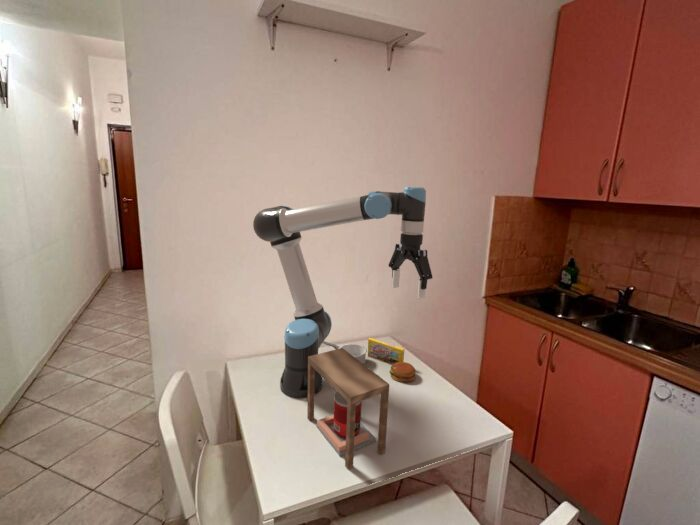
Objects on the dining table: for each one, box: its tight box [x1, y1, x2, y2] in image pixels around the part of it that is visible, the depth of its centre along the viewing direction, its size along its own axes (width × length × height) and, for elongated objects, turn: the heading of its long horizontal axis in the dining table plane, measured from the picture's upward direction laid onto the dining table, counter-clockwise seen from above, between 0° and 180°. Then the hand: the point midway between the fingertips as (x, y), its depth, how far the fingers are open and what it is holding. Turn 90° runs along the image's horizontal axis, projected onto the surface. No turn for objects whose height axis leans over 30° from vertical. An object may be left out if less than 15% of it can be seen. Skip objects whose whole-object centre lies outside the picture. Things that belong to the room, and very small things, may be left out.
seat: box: [315, 414, 377, 457], centre depth 107 cm, size 12×14×2 cm
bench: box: [306, 348, 390, 470], centre depth 105 cm, size 12×24×21 cm, turn 32°
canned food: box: [333, 391, 362, 438], centre depth 106 cm, size 8×8×11 cm
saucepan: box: [322, 340, 368, 365], centre depth 151 cm, size 12×20×6 cm, turn 61°
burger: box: [389, 361, 417, 383], centre depth 140 cm, size 10×9×5 cm
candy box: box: [367, 337, 405, 366], centre depth 150 cm, size 16×2×8 cm, turn 55°
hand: (407, 292), depth 129 cm, fingers open, 13 cm apart
